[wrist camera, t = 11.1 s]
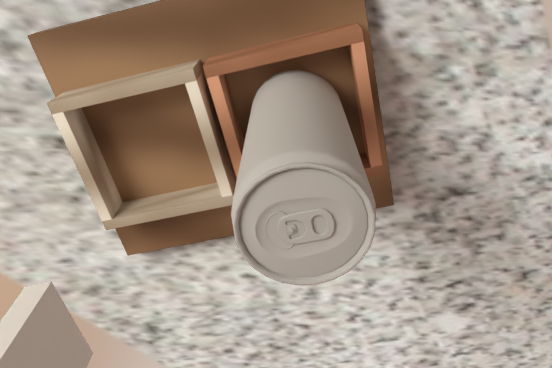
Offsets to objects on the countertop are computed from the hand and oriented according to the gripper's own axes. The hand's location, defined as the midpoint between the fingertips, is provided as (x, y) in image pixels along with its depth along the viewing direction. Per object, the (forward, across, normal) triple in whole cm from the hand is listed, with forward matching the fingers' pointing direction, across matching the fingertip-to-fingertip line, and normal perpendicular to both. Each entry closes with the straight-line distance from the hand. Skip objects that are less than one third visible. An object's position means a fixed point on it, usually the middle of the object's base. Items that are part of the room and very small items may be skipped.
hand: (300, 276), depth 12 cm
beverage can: (+15, 0, -1) cm, 15 cm away
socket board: (+16, -4, -1) cm, 16 cm away
